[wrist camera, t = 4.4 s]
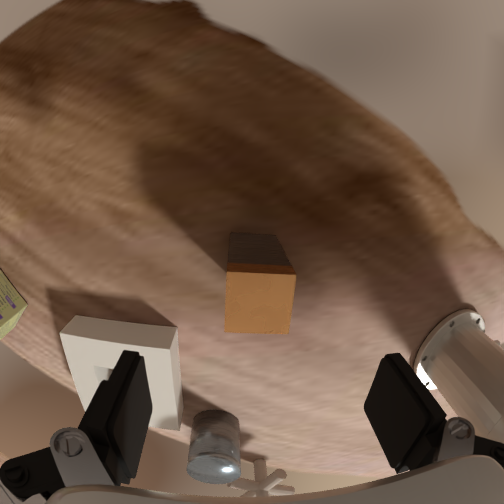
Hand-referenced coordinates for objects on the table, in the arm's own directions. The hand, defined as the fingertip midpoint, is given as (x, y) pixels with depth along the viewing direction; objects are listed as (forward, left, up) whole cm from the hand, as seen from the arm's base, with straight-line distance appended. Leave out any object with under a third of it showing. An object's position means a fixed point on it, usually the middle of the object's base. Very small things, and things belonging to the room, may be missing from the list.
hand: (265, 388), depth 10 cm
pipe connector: (-4, +33, -18) cm, 37 cm away
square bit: (0, 0, -17) cm, 17 cm away
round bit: (+3, +23, -17) cm, 29 cm away
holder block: (+13, +14, -17) cm, 26 cm away
